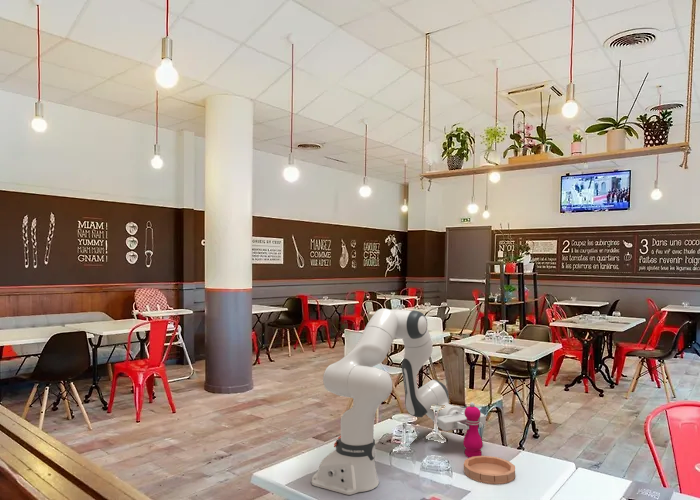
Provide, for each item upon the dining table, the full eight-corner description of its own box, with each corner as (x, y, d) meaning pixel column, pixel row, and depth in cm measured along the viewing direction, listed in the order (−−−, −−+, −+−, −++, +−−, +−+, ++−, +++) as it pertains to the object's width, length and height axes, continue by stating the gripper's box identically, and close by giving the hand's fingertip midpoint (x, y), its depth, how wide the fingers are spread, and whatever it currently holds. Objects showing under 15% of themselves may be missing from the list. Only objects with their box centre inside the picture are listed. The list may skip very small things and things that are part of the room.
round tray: (461, 480, 165) (461, 471, 165) (467, 461, 181) (467, 453, 181) (514, 487, 159) (514, 478, 159) (515, 467, 175) (515, 459, 175)
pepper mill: (485, 459, 183) (484, 405, 184) (465, 459, 183) (464, 405, 184) (480, 451, 190) (479, 399, 191) (461, 451, 190) (460, 399, 191)
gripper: (430, 412, 194) (451, 422, 182) (471, 405, 203) (494, 414, 190) (430, 428, 194) (452, 439, 182) (471, 421, 203) (494, 431, 190)
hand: (474, 426), depth 186 cm, fingers closed on pepper mill, 5 cm apart
